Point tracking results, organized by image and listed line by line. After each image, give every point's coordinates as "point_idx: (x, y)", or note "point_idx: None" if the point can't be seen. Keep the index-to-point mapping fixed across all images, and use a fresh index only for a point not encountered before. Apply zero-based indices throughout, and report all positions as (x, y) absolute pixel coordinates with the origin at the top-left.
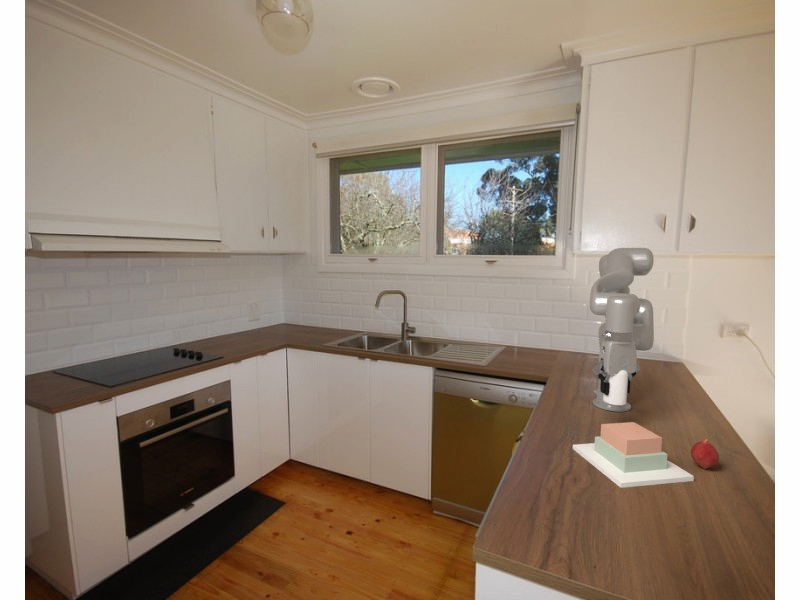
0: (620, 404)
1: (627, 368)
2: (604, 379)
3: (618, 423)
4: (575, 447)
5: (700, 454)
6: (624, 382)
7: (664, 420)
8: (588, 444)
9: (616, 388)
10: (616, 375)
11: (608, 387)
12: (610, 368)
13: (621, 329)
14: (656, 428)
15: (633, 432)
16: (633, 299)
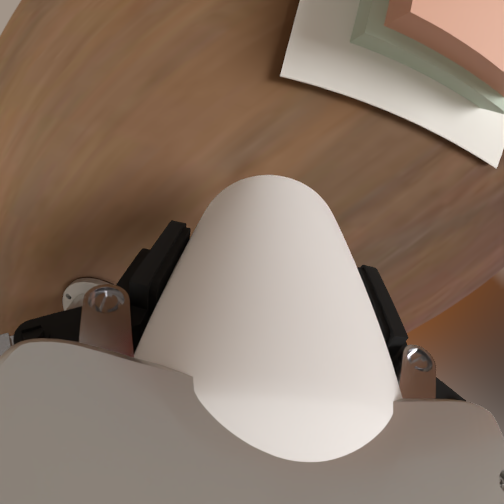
0: (295, 180)
1: (174, 475)
2: (433, 373)
3: (488, 56)
4: (499, 155)
5: None
6: (277, 266)
7: (34, 194)
8: (464, 141)
9: (347, 260)
10: (394, 383)
11: (386, 303)
12: (501, 469)
13: None
14: (88, 153)
15: None
16: None
